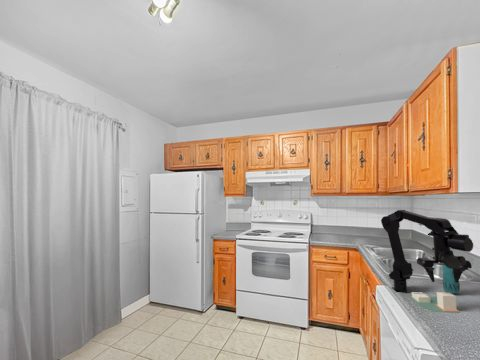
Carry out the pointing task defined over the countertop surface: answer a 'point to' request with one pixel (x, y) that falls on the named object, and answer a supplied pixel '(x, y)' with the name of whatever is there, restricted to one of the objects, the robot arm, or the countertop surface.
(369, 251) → the countertop surface
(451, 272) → the beverage bottle
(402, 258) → the robot arm
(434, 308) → the mat
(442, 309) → the coaster
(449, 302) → the stub
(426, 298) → the spiral notebook
